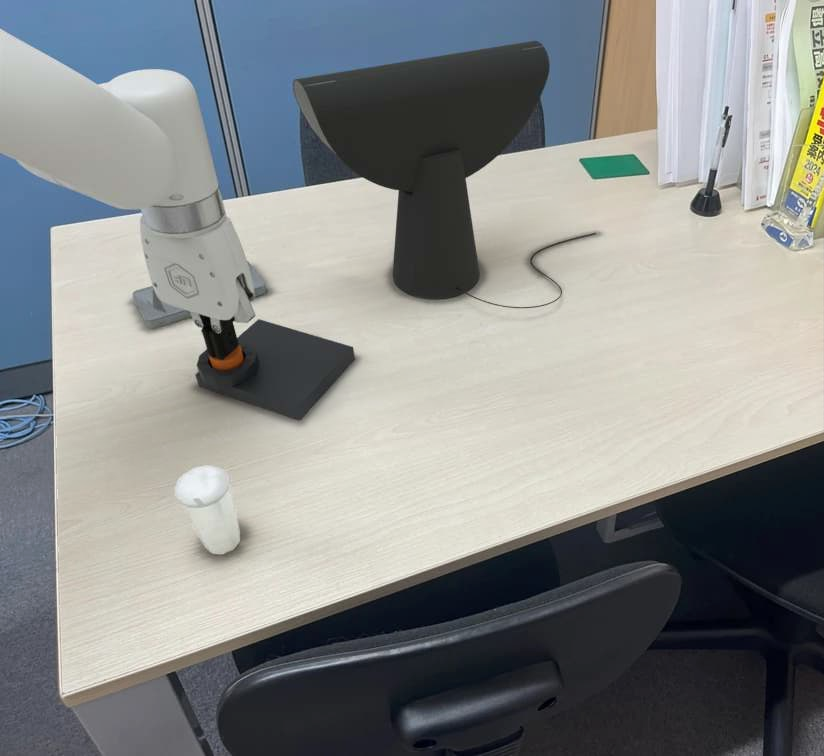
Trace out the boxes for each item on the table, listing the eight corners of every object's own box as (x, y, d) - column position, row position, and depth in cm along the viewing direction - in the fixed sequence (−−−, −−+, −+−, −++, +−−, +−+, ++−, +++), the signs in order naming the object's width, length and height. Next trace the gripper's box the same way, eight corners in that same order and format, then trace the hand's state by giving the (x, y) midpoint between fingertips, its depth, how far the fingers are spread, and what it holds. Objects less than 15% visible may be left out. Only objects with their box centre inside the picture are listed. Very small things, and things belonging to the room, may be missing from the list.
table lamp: (476, 194, 123) (477, 4, 103) (622, 242, 112) (655, 40, 93) (312, 303, 97) (272, 77, 78) (482, 379, 86) (486, 140, 67)
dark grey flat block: (192, 390, 83) (185, 367, 81) (259, 330, 92) (254, 308, 90) (295, 424, 80) (290, 402, 77) (355, 358, 89) (352, 336, 86)
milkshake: (196, 573, 65) (166, 503, 58) (199, 526, 69) (170, 456, 62) (248, 562, 66) (224, 493, 59) (247, 517, 70) (225, 447, 63)
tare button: (205, 367, 82) (201, 356, 81) (225, 350, 85) (222, 338, 84) (231, 376, 81) (227, 364, 80) (250, 358, 84) (247, 346, 83)
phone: (269, 293, 99) (267, 285, 98) (149, 330, 92) (146, 322, 91) (248, 266, 104) (246, 258, 103) (133, 299, 97) (130, 291, 96)
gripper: (94, 207, 69) (149, 353, 81) (220, 240, 65) (258, 389, 77) (150, 176, 74) (194, 318, 87) (269, 205, 71) (298, 349, 83)
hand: (224, 351), depth 82 cm, fingers closed
